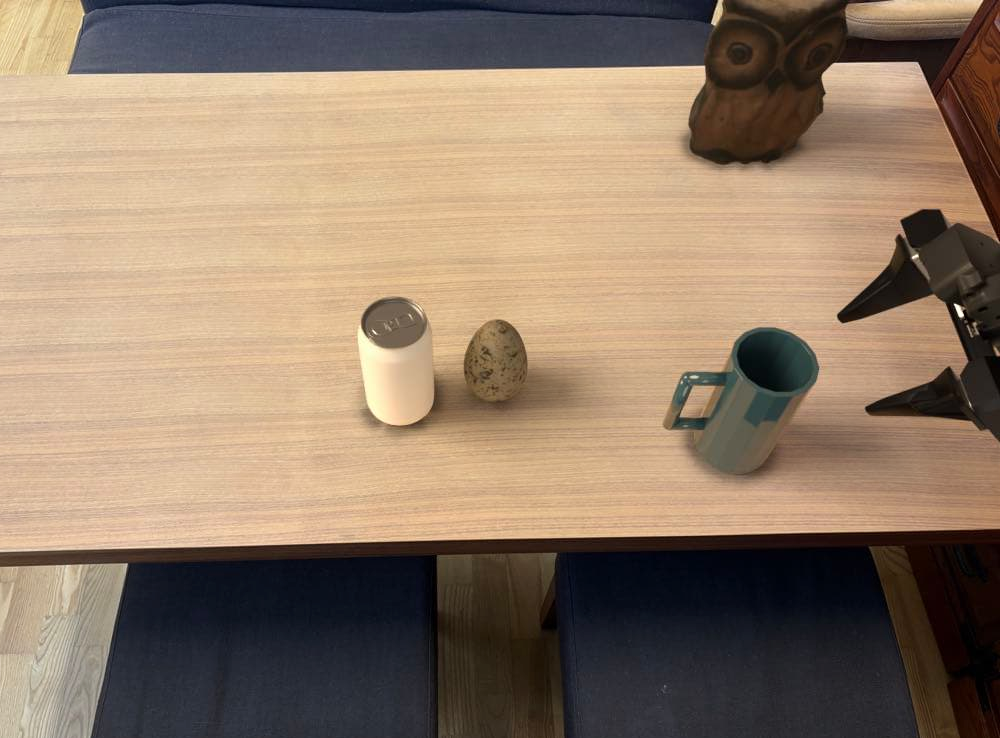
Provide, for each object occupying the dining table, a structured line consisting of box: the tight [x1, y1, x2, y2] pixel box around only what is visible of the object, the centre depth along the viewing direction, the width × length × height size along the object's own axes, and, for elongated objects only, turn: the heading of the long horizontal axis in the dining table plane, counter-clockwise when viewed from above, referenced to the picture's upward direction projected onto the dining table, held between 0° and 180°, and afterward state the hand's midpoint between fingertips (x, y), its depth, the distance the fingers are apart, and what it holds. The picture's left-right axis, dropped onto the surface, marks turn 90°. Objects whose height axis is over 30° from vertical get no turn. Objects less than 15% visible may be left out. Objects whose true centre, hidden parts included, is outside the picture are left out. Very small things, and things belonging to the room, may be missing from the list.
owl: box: [687, 0, 852, 166], centre depth 94 cm, size 13×13×20 cm
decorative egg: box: [463, 318, 529, 403], centre depth 78 cm, size 6×6×10 cm
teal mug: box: [662, 326, 820, 475], centre depth 74 cm, size 10×7×13 cm, turn 90°
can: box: [357, 295, 435, 426], centre depth 77 cm, size 6×6×12 cm
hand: (852, 363), depth 69 cm, fingers open, 9 cm apart
